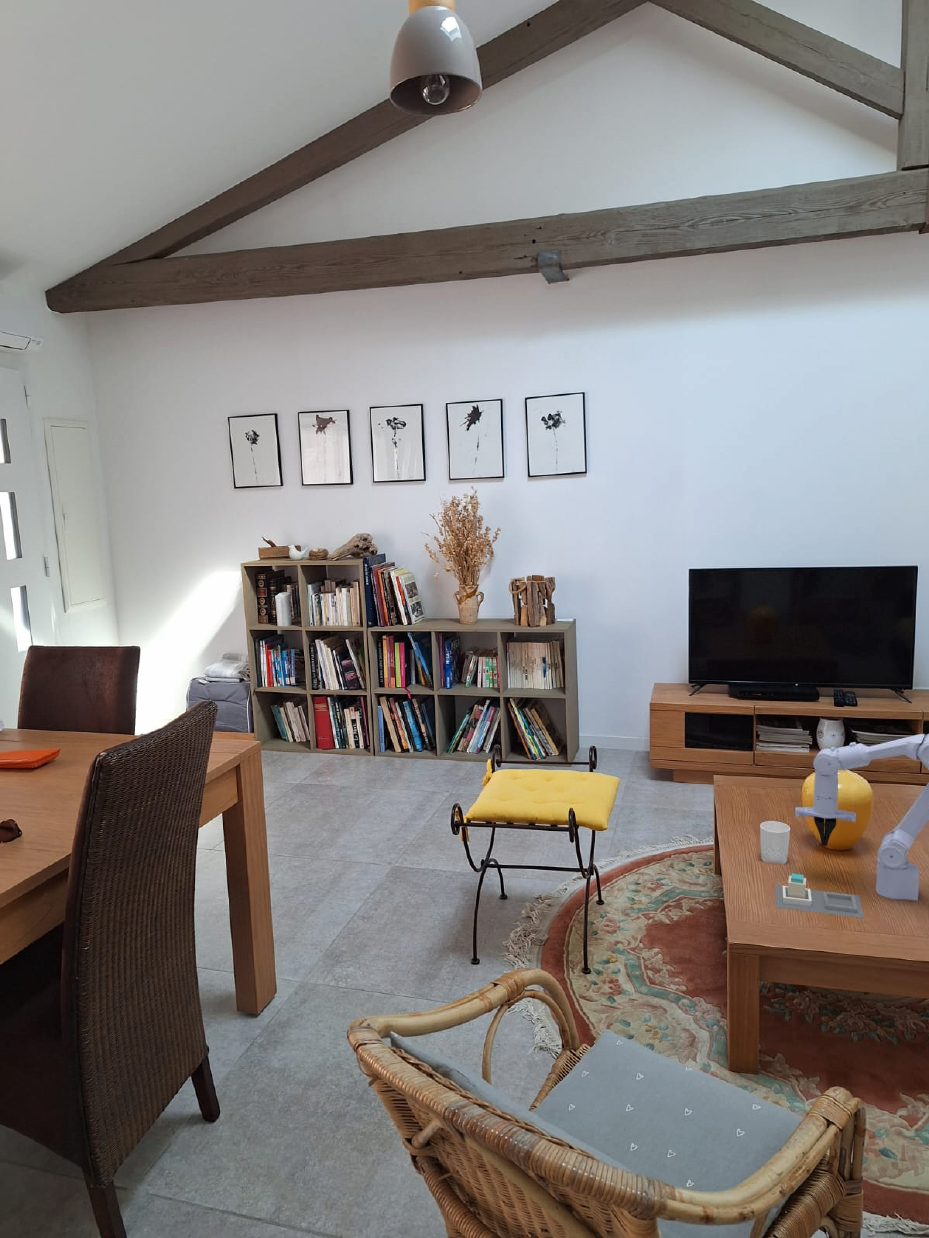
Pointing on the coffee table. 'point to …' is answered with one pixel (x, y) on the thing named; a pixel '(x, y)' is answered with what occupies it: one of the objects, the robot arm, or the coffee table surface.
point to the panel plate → (820, 904)
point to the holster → (838, 907)
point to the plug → (797, 886)
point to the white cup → (774, 841)
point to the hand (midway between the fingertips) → (824, 844)
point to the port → (797, 900)
